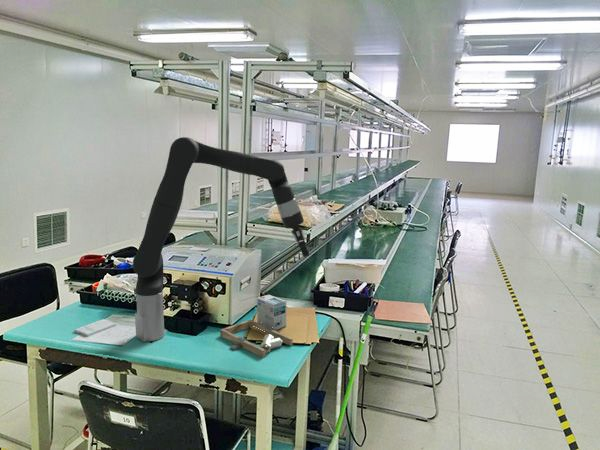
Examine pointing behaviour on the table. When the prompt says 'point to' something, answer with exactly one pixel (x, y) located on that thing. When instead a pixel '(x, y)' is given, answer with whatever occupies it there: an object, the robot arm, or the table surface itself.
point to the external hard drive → (95, 327)
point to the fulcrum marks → (236, 346)
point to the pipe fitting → (270, 343)
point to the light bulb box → (271, 312)
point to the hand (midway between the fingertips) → (305, 253)
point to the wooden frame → (247, 345)
